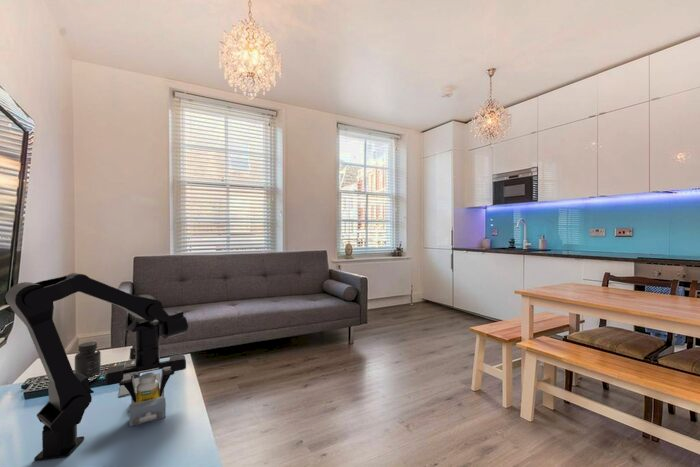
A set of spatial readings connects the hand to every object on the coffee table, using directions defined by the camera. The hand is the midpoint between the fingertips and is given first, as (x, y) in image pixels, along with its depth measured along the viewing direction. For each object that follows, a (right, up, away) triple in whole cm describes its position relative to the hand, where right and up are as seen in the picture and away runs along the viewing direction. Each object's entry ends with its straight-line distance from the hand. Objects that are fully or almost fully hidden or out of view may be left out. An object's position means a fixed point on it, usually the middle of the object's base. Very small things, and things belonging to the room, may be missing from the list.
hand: (148, 398), depth 90 cm
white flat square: (-11, -3, +14) cm, 18 cm away
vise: (+1, -3, -1) cm, 3 cm away
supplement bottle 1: (-31, -3, +18) cm, 36 cm away
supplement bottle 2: (0, -3, 0) cm, 3 cm away
